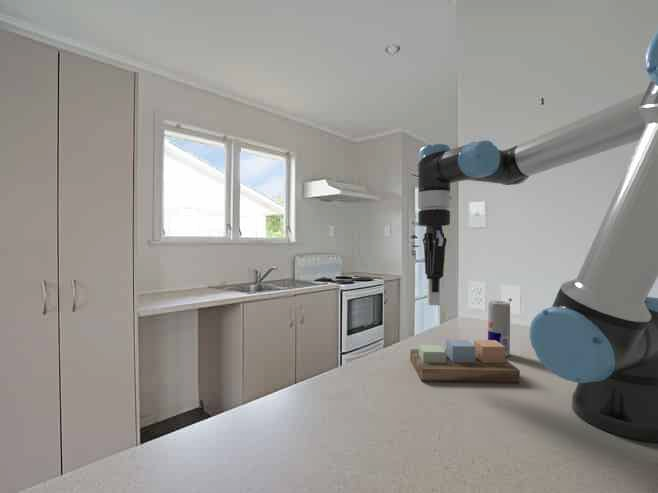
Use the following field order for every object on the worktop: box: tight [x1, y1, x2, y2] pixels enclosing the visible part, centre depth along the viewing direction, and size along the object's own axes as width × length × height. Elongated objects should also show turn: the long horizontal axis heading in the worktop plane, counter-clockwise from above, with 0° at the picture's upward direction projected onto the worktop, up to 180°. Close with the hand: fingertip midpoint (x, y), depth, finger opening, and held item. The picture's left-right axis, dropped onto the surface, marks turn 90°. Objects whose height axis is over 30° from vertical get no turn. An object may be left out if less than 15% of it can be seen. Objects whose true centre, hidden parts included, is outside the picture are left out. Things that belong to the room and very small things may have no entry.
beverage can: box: [487, 300, 511, 357], centre depth 98 cm, size 6×6×15 cm
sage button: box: [418, 344, 446, 363], centre depth 86 cm, size 5×5×4 cm
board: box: [409, 348, 521, 384], centre depth 86 cm, size 14×22×3 cm, turn 87°
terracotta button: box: [473, 339, 506, 363], centre depth 86 cm, size 5×5×4 cm
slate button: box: [445, 339, 476, 363], centre depth 86 cm, size 5×5×4 cm
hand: (433, 304), depth 86 cm, fingers closed
